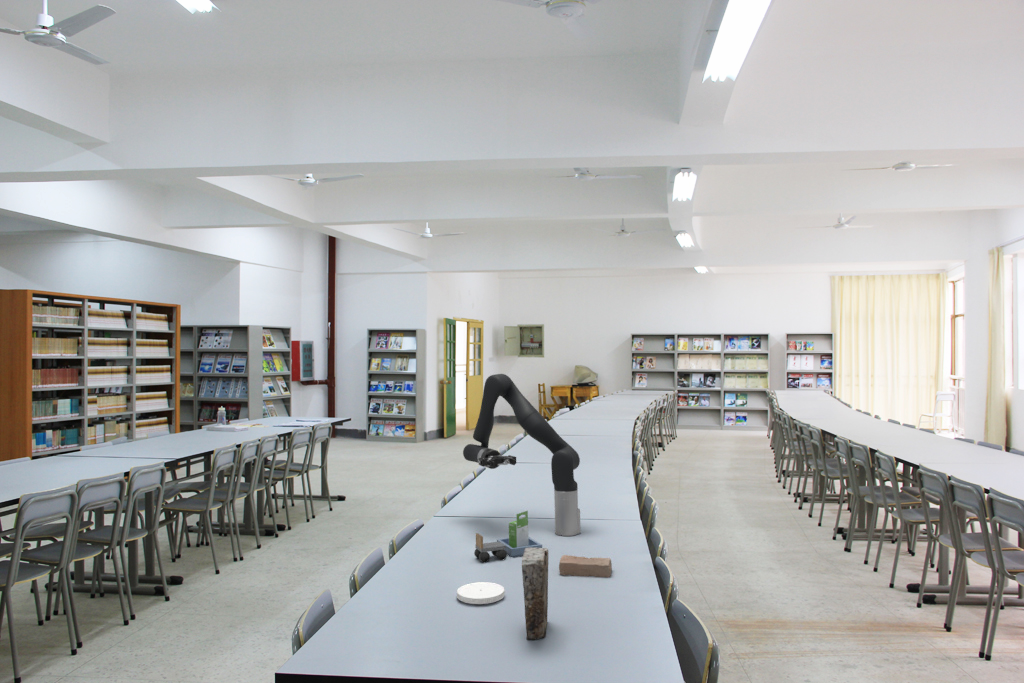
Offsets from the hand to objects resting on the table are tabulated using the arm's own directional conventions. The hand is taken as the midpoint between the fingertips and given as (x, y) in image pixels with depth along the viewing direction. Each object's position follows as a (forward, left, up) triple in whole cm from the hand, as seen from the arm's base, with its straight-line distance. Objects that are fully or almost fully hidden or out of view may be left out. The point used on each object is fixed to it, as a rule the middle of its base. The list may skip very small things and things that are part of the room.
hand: (504, 463), depth 263 cm
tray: (0, +13, -30) cm, 33 cm away
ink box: (0, +13, -29) cm, 32 cm away
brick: (-10, +45, -30) cm, 55 cm away
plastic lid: (+29, +52, -30) cm, 67 cm away
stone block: (+24, +81, -30) cm, 90 cm away
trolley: (+13, +18, -30) cm, 37 cm away
